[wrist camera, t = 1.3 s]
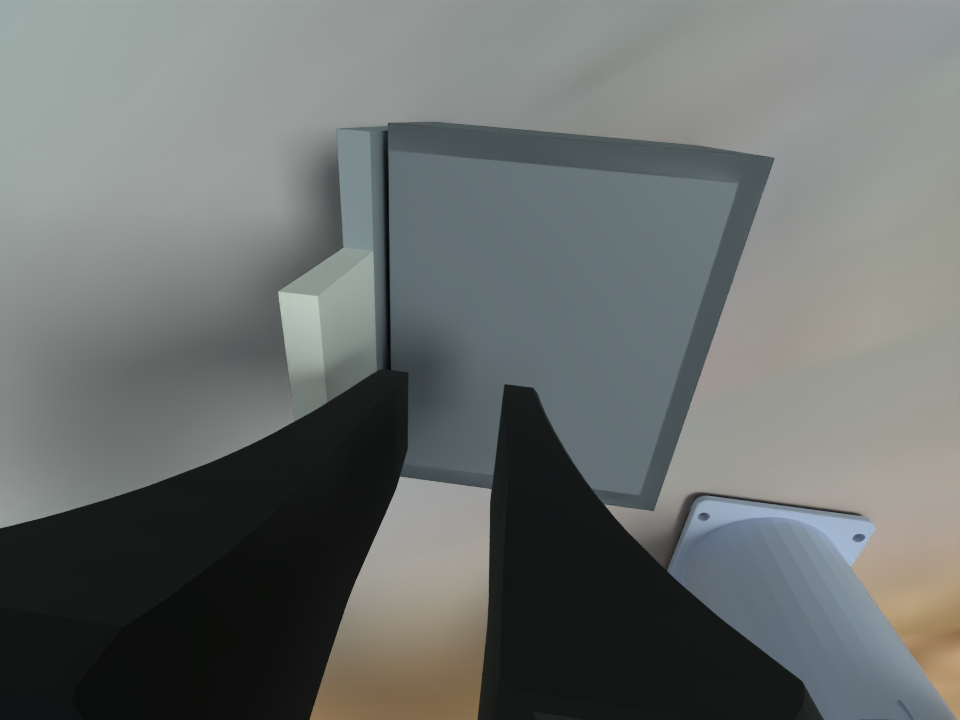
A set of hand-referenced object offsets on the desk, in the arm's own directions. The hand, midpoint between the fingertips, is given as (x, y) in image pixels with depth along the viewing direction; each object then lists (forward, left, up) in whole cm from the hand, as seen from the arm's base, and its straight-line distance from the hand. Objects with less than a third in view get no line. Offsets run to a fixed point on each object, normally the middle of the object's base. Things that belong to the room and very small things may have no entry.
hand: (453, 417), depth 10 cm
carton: (0, -2, -9) cm, 10 cm away
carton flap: (0, +4, -9) cm, 10 cm away
